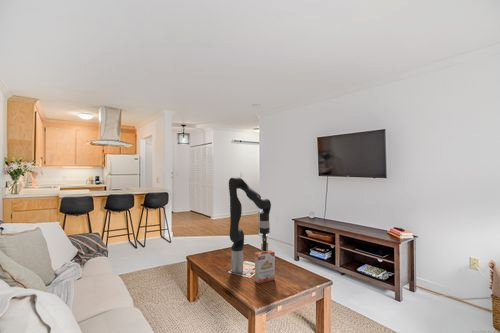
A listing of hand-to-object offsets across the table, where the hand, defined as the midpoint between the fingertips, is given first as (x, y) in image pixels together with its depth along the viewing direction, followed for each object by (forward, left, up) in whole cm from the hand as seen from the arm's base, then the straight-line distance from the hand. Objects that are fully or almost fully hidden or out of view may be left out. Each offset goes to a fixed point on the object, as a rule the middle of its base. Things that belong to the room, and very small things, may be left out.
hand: (264, 249), depth 192 cm
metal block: (0, 0, -1) cm, 1 cm away
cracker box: (0, 0, -23) cm, 23 cm away
